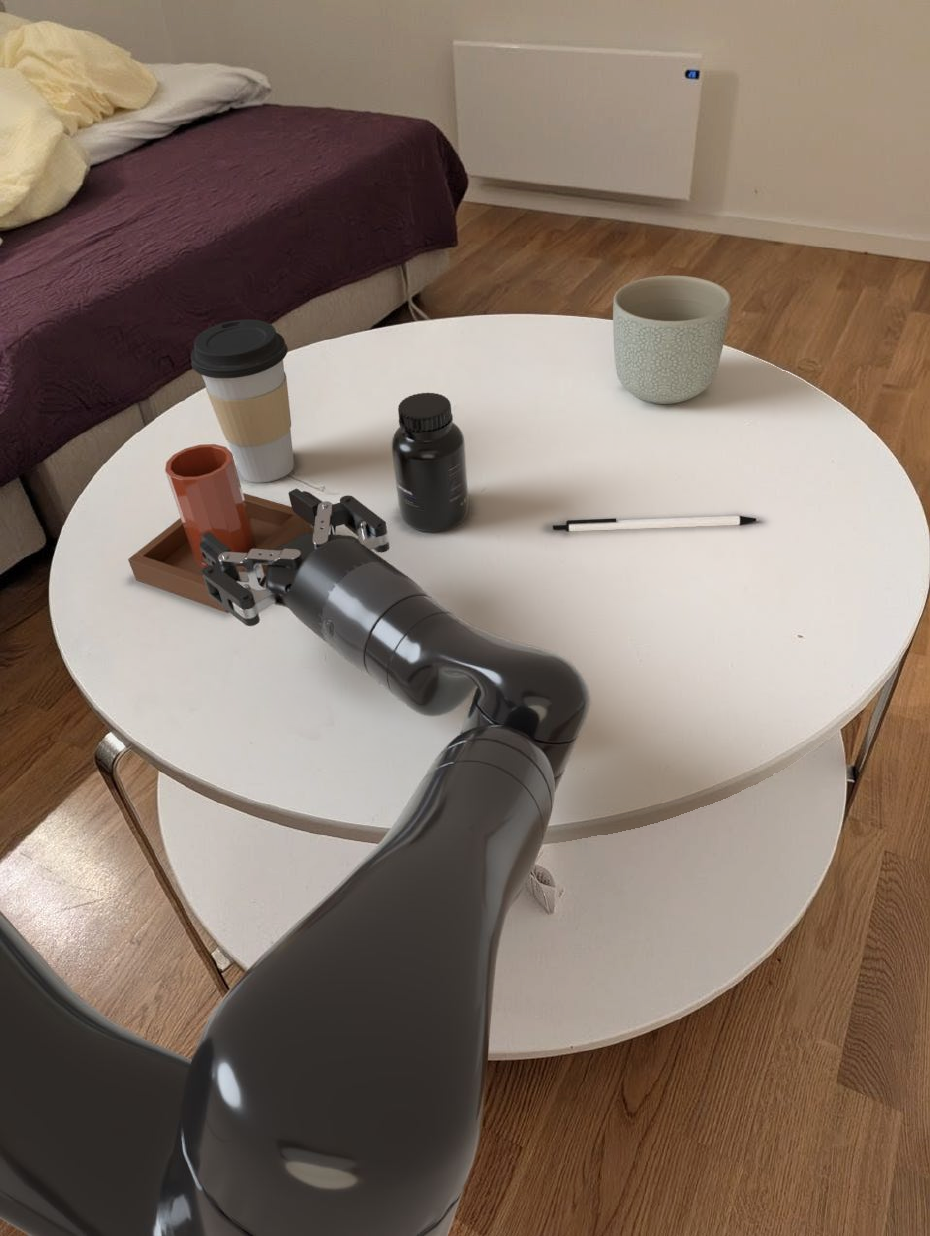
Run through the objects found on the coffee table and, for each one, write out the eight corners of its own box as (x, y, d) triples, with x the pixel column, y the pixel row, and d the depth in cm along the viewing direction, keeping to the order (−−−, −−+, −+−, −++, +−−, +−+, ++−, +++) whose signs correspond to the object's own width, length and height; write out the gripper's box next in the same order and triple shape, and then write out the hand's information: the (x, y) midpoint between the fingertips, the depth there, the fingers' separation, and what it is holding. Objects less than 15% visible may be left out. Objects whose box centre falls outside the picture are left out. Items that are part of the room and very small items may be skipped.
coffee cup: (277, 436, 104) (247, 308, 94) (328, 465, 99) (303, 332, 89) (206, 471, 99) (167, 340, 89) (256, 504, 94) (220, 368, 84)
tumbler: (230, 577, 84) (202, 485, 78) (182, 561, 87) (150, 470, 80) (269, 542, 88) (245, 452, 81) (221, 527, 90) (195, 438, 84)
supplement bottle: (389, 527, 89) (372, 418, 81) (416, 489, 94) (403, 382, 86) (454, 539, 87) (444, 428, 79) (479, 500, 92) (472, 390, 84)
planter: (587, 392, 107) (589, 301, 100) (655, 355, 113) (662, 266, 105) (673, 428, 100) (682, 332, 92) (741, 386, 105) (754, 293, 98)
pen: (552, 528, 88) (552, 518, 87) (756, 520, 87) (757, 510, 86) (553, 534, 87) (553, 524, 86) (758, 526, 86) (759, 516, 85)
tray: (226, 612, 81) (219, 591, 80) (135, 580, 86) (127, 559, 84) (312, 532, 90) (308, 511, 88) (225, 506, 94) (219, 486, 92)
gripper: (294, 693, 67) (187, 593, 77) (443, 602, 74) (327, 520, 83) (273, 617, 62) (162, 519, 72) (435, 526, 69) (313, 448, 78)
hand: (251, 520), depth 77 cm, fingers open, 8 cm apart
